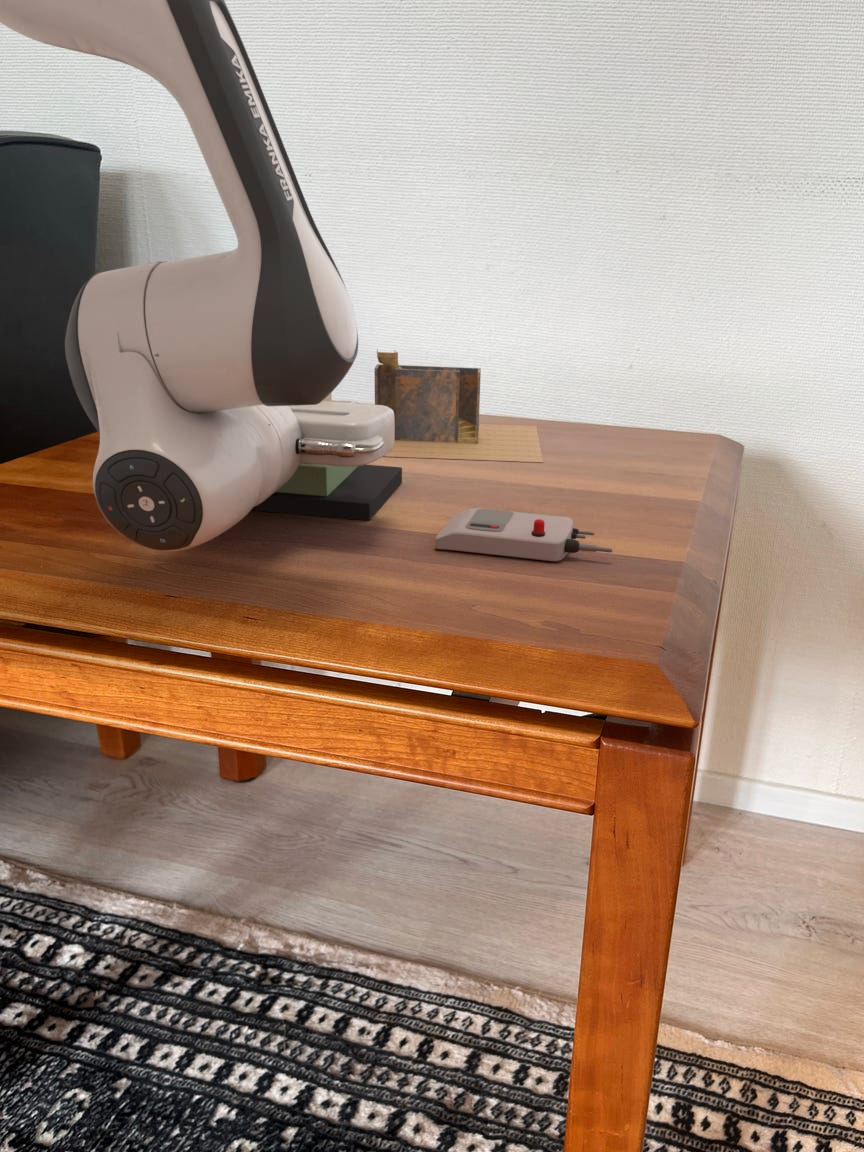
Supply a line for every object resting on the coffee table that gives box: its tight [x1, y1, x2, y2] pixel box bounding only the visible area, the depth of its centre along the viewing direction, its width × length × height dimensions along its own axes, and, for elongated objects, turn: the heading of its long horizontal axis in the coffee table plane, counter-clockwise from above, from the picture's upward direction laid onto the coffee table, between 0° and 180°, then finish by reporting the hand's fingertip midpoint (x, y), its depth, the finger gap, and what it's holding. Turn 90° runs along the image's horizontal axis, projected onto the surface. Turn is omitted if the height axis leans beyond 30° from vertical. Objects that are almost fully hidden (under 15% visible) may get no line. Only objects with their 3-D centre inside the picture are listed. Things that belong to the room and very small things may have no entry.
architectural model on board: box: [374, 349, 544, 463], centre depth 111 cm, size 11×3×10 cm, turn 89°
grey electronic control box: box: [434, 507, 613, 562], centre depth 82 cm, size 7×16×3 cm, turn 77°
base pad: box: [251, 464, 403, 521], centre depth 92 cm, size 16×12×4 cm
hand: (298, 406), depth 90 cm, fingers open, 8 cm apart
